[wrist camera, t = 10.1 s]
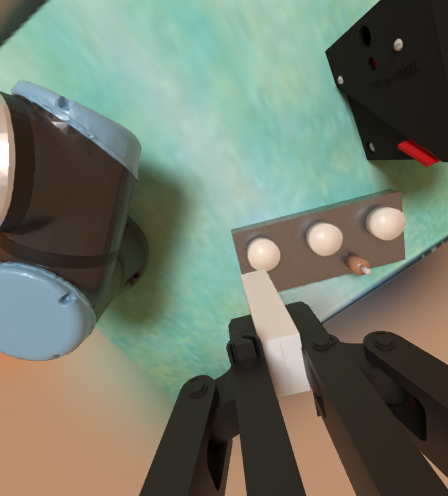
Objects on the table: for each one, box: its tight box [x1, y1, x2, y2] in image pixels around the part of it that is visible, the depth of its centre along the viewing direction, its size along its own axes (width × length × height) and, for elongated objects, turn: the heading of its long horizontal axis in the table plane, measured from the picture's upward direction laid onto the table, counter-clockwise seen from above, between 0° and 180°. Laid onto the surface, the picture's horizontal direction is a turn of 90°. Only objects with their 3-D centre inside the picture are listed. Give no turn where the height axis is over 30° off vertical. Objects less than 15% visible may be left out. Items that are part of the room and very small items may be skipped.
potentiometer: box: [346, 254, 372, 275], centre depth 46 cm, size 3×3×5 cm
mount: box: [231, 189, 405, 291], centre depth 49 cm, size 28×12×3 cm, turn 104°
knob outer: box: [366, 206, 406, 240], centre depth 47 cm, size 5×5×6 cm
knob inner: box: [247, 237, 280, 271], centre depth 47 cm, size 5×5×6 cm
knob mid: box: [306, 222, 343, 256], centre depth 47 cm, size 5×5×6 cm
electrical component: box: [325, 0, 448, 167], centre depth 35 cm, size 18×10×20 cm, turn 26°
